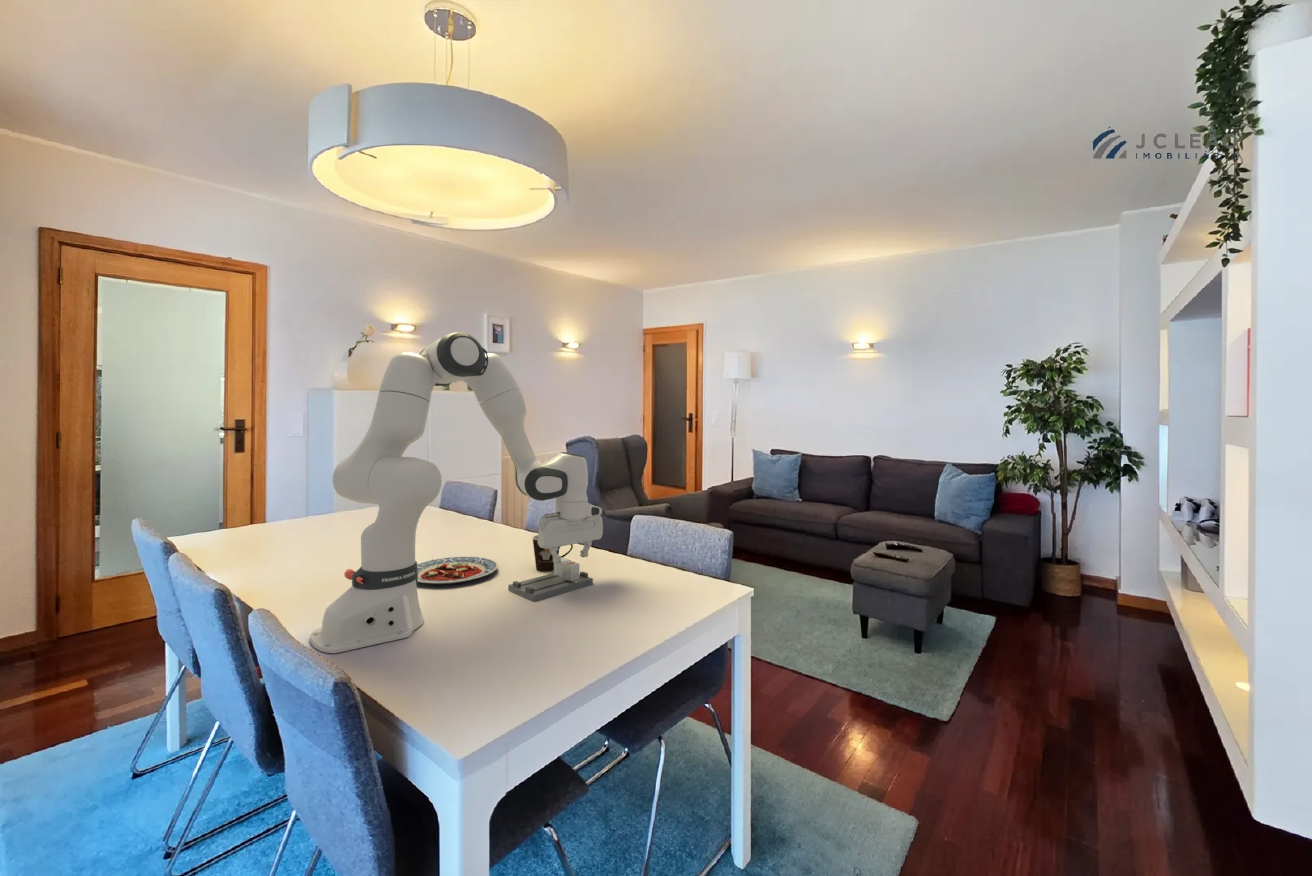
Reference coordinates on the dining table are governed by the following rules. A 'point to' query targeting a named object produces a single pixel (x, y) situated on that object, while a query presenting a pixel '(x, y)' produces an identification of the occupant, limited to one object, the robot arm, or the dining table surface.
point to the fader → (570, 571)
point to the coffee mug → (544, 557)
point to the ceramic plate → (454, 569)
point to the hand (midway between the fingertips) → (570, 559)
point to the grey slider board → (549, 584)
